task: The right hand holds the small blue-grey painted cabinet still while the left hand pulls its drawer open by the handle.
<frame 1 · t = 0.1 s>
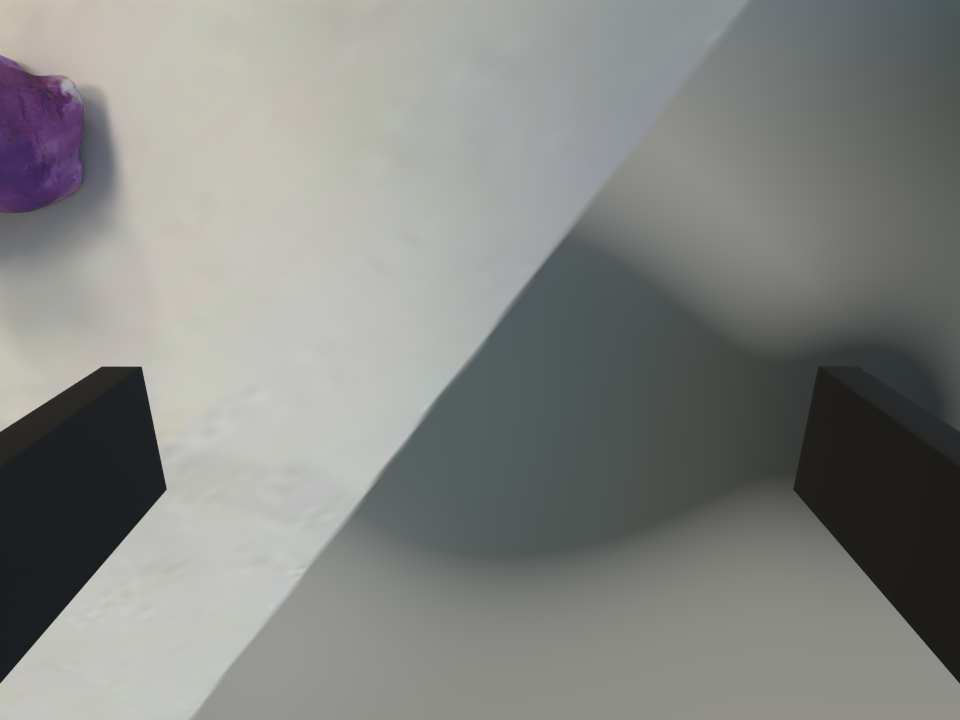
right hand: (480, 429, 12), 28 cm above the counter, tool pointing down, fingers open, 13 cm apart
figurine: (19, 150, 37), on the counter
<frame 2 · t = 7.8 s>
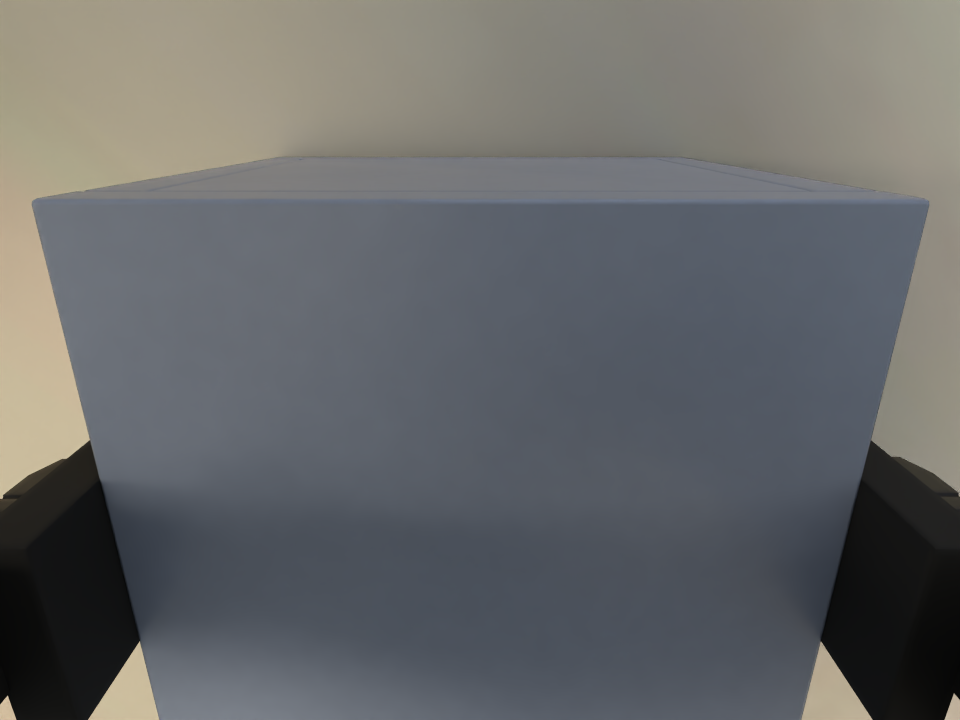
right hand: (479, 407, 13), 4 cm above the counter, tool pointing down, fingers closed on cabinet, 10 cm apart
cabinet: (480, 513, 19), on the counter, touching right hand
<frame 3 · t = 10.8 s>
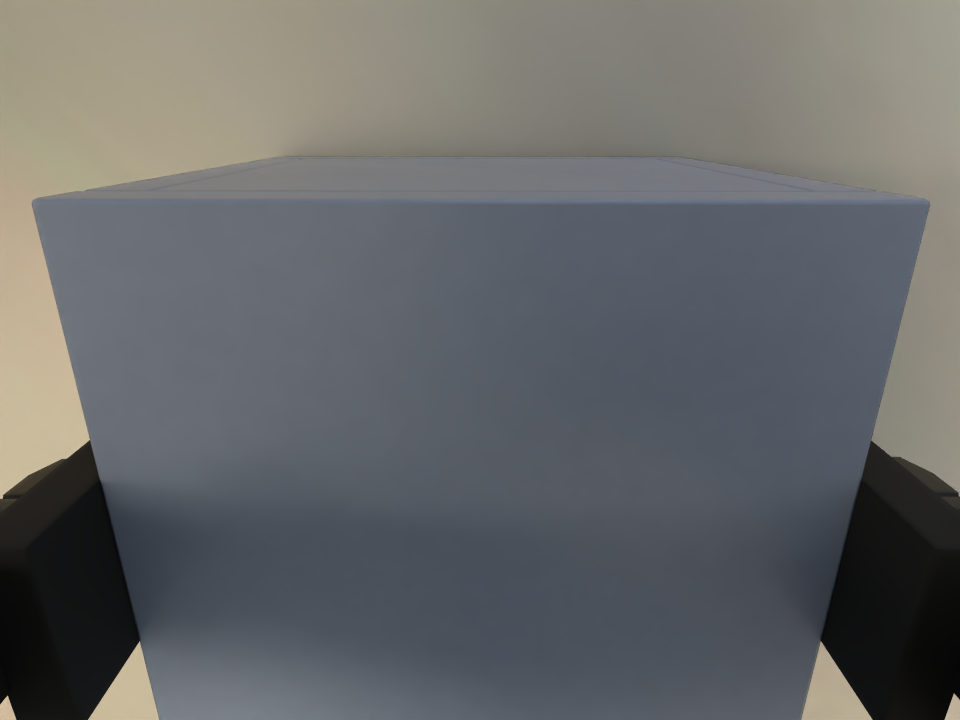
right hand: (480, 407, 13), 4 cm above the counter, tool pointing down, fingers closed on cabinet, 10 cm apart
cabinet: (479, 513, 19), on the counter, touching right hand
when the right hand's fingers open (4 cm above the counter, at t = 13.6 s): cabinet stays where it is, on the counter.
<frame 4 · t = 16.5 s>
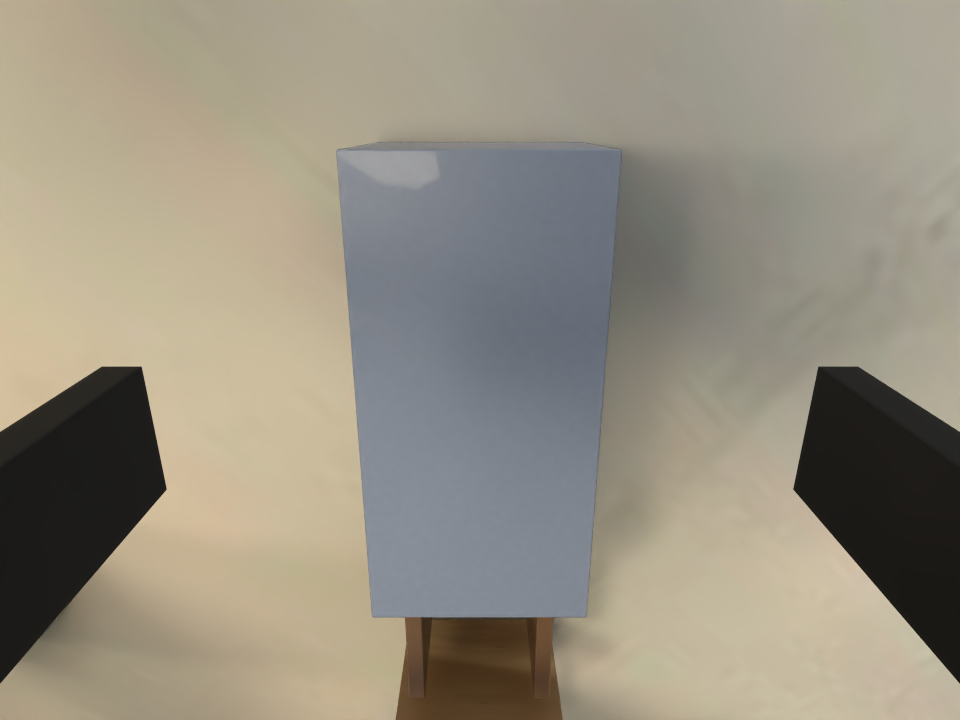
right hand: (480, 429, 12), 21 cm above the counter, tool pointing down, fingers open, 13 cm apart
drawer: (479, 583, 34), point 4 cm above the counter, slide at 7.7 cm
cabinet: (479, 343, 34), on the counter
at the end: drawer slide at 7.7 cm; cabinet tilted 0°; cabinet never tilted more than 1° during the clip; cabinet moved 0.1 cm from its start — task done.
